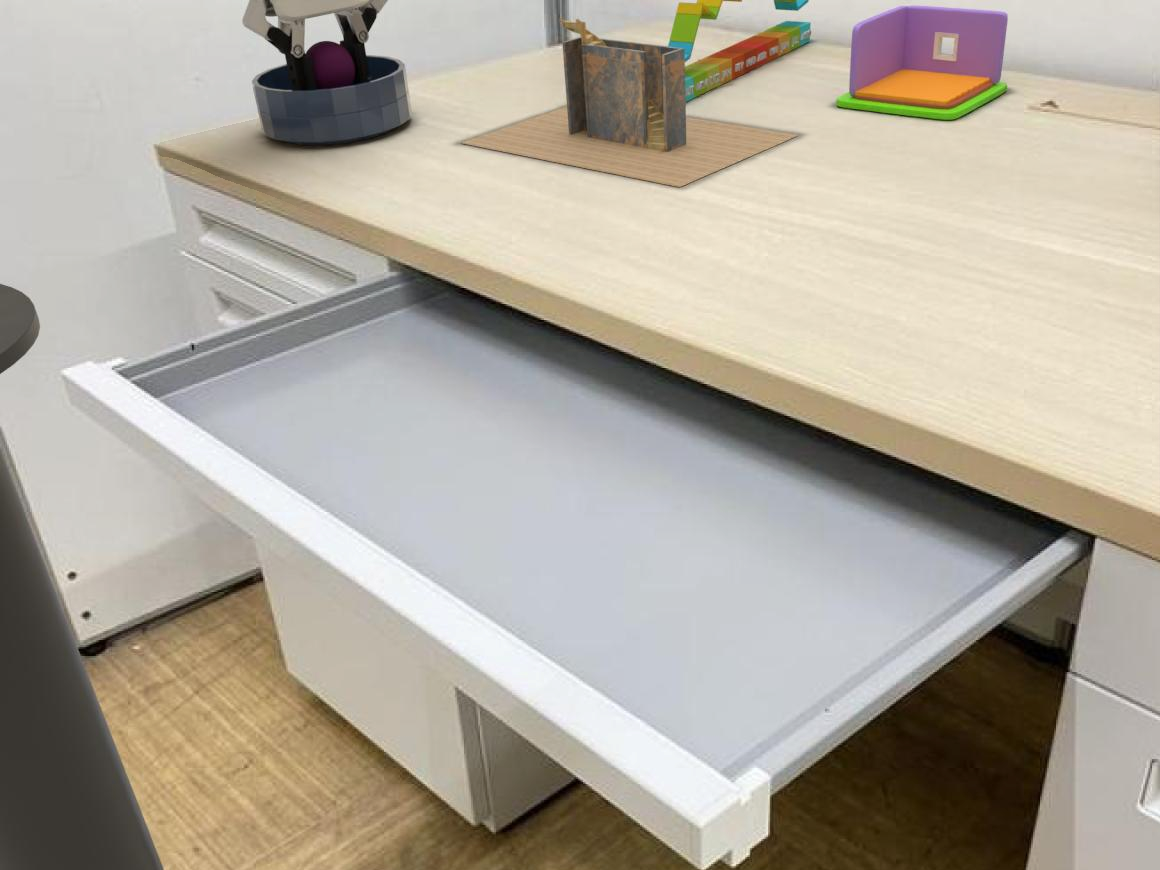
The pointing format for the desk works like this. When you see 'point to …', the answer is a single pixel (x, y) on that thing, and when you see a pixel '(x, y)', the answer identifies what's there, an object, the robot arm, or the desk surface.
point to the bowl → (333, 105)
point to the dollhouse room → (926, 62)
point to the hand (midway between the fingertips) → (332, 91)
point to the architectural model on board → (628, 117)
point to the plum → (331, 65)
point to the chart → (737, 56)
